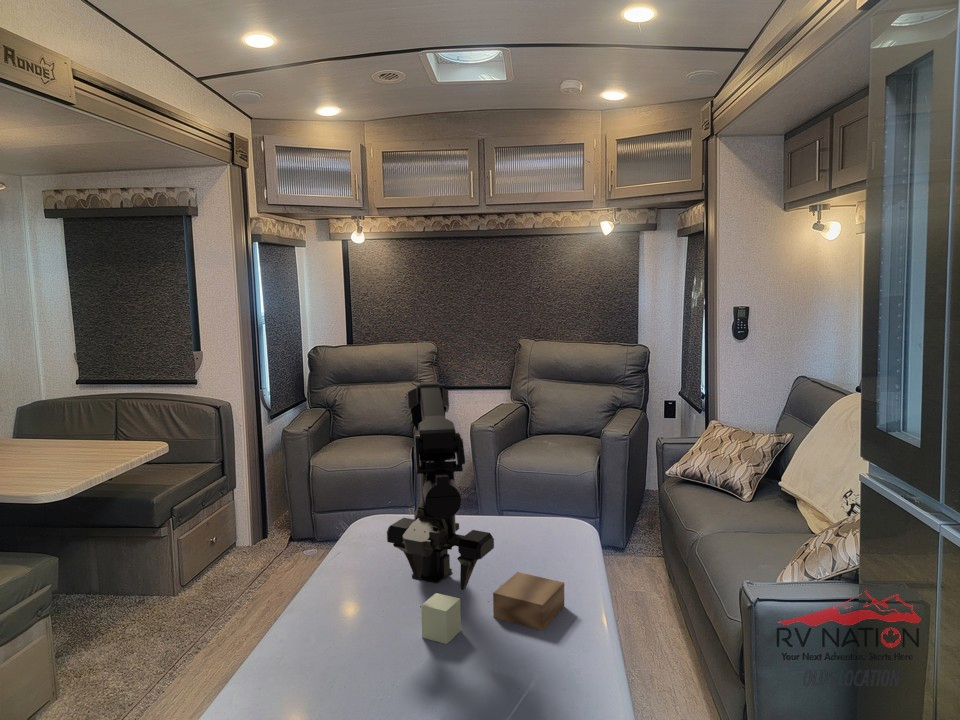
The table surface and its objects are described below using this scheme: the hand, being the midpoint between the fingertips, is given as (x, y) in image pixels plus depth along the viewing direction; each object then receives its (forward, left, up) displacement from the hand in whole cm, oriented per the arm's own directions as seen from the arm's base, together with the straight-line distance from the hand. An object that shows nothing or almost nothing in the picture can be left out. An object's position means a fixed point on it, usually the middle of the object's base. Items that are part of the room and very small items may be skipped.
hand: (440, 584), depth 116 cm
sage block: (0, 0, -9) cm, 9 cm away
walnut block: (+11, +14, -9) cm, 20 cm away
